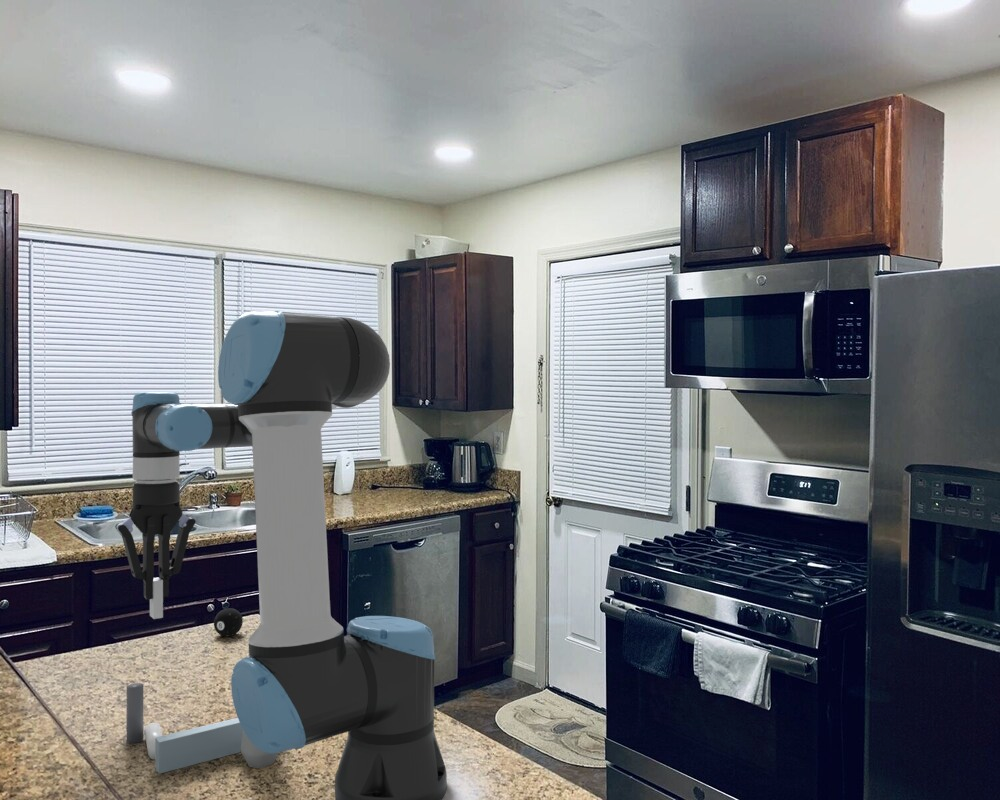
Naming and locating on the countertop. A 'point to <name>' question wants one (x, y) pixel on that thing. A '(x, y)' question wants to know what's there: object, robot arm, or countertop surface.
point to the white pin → (152, 737)
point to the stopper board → (197, 745)
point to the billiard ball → (228, 622)
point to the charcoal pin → (134, 713)
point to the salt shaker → (255, 754)
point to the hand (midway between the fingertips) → (156, 616)
